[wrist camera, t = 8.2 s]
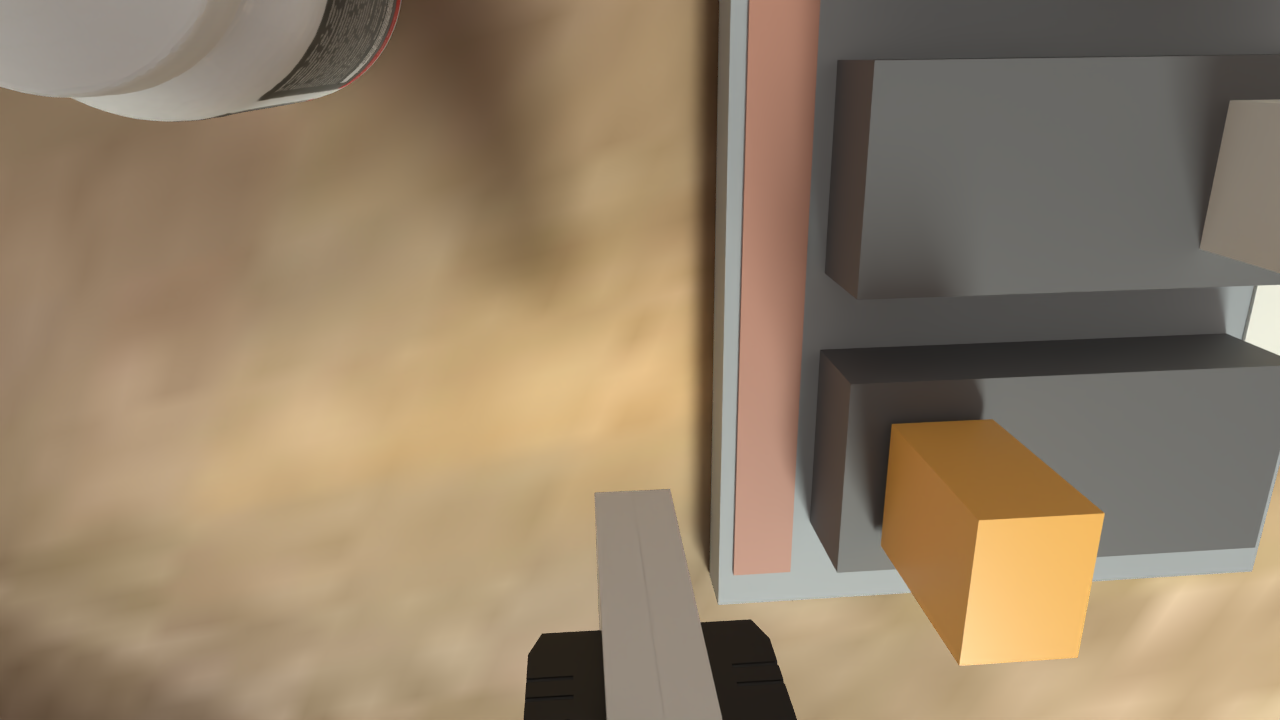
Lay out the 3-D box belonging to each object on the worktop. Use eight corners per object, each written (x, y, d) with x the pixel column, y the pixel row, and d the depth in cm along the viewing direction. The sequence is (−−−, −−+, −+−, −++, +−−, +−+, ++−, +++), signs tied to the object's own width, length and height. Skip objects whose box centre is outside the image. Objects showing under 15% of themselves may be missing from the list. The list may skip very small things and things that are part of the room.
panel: (709, 575, 26) (775, 802, 18) (726, -425, 18) (857, -807, 10) (1216, 544, 27) (1485, 745, 19) (1441, -404, 19) (2062, -727, 11)
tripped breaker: (880, 545, 21) (959, 666, 17) (891, 424, 20) (978, 520, 16) (976, 539, 21) (1077, 657, 17) (992, 419, 20) (1104, 513, 16)
